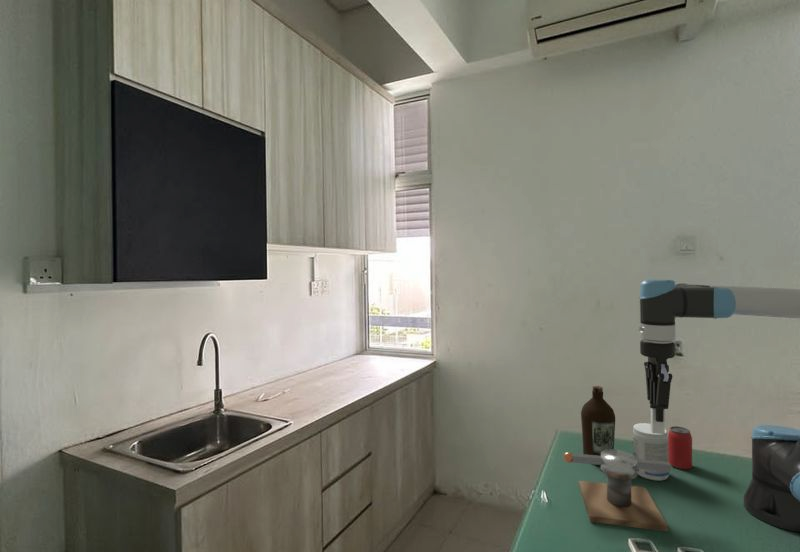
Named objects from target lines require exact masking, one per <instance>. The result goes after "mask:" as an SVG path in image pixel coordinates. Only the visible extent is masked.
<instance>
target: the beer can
mask: <svg viewBox="0 0 800 552" xmlns="http://www.w3.org/2000/svg"><path fill="white" fill-rule="evenodd" d="M667 435H668V458H669V463H670V464H671V467H673V468H677V469H680V470H691V469H692V468H693V437H692V434H691V430H690V429H689V428H685V427H682V426H677V425H676V426H675V425H674V426H670V427H669V431H668V432H667Z"/></svg>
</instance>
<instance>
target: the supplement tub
mask: <svg viewBox="0 0 800 552" xmlns="http://www.w3.org/2000/svg"><path fill="white" fill-rule="evenodd" d="M632 446H633V447H632V448H633V452H632V453H633V455H634V456H635V457H636V458H637V459H643V460H654V461H665V462H669V458H668V430H667V429H666V428H665V434H657V433H652V432H651V423H649V422H647V423H645V422H643V423H642V422H641V423H636V424H633V429H632ZM637 469H638V468H637ZM637 476H640V477H642V478H644V479H646V480H651V481H664V480H667V479H668V478H669V476H670V471H659V470H649V469H638V475H637Z"/></svg>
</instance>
